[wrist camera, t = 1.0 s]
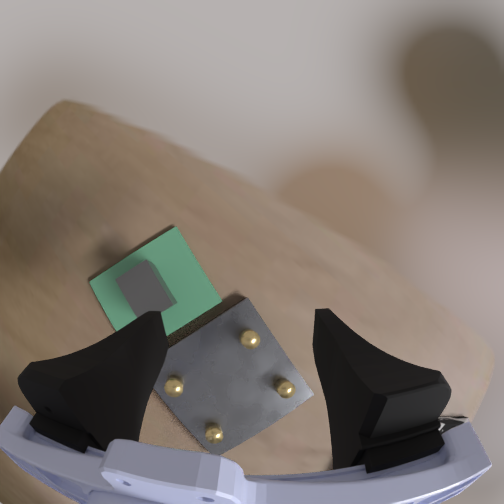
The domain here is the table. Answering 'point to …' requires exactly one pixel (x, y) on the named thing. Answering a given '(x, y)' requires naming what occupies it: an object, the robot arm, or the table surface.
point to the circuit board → (173, 274)
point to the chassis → (230, 379)
